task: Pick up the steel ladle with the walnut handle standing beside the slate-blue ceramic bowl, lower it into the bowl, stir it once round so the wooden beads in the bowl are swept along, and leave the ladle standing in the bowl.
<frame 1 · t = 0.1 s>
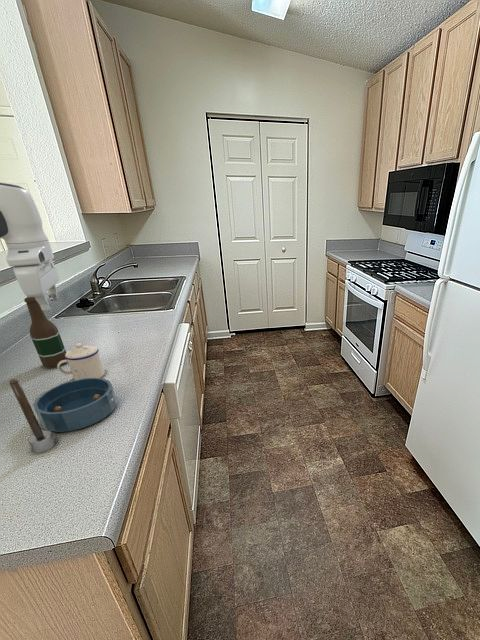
hand: (51, 304, 92), 26 cm above the counter, tool pointing down, fingers open, 8 cm apart
bead a: (97, 397, 94), point 2 cm above the counter, touching bowl
bowl: (81, 412, 90), on the counter
beer bottle: (56, 364, 117), on the counter
bead b: (57, 409, 89), point 2 cm above the counter, touching bowl
teacup with lid: (85, 378, 108), on the counter
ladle: (44, 446, 78), on the counter
bead c: (82, 417, 86), point 2 cm above the counter, touching bowl
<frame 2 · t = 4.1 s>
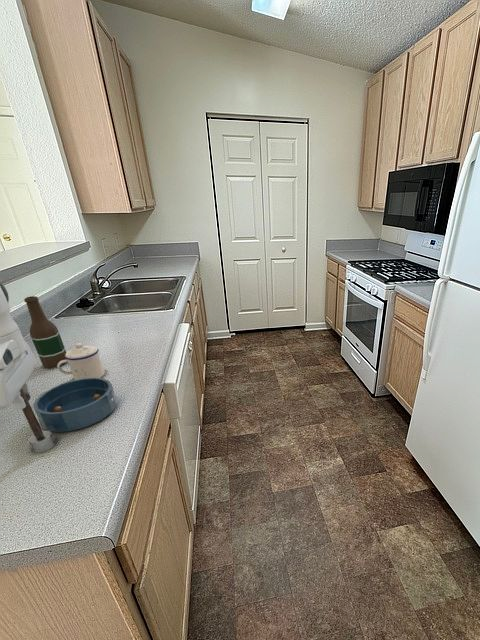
hand: (24, 403, 73), 12 cm above the counter, tool pointing down, fingers closed on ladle
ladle: (44, 446, 78), on the counter, touching gripper
everything else where it was.
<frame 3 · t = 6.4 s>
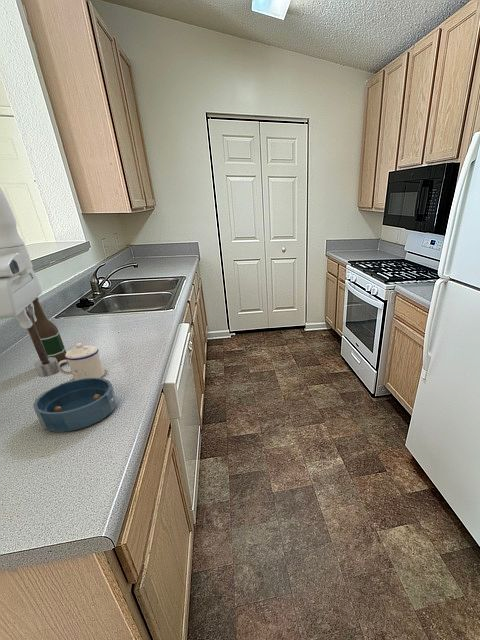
hand: (29, 325, 74), 27 cm above the counter, tool pointing down, fingers closed on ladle
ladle: (49, 372, 79), point 15 cm above the counter, touching gripper
everything else where it was.
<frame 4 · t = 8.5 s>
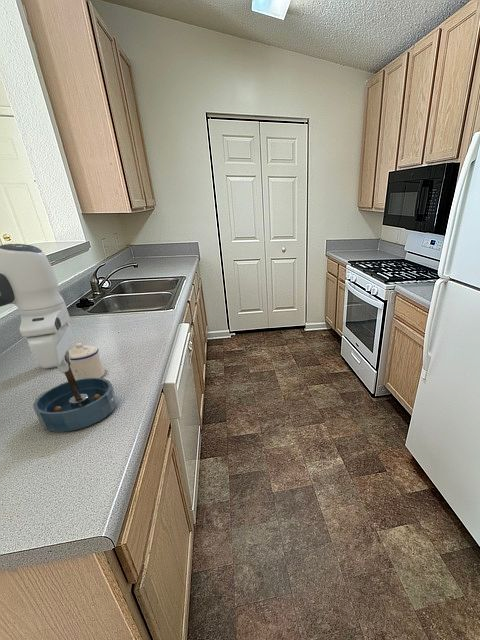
hand: (66, 368, 84), 14 cm above the counter, tool pointing down, fingers closed on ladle
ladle: (82, 407, 90), point 2 cm above the counter, touching gripper
everything else where it was.
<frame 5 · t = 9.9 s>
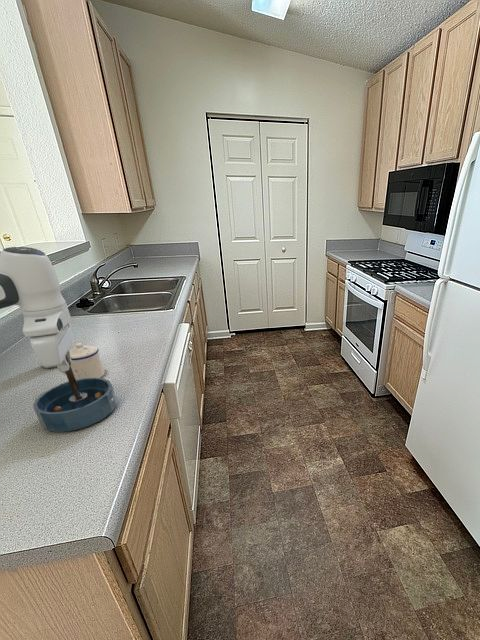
hand: (67, 367, 87), 13 cm above the counter, tool pointing down, fingers closed on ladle
bead a: (98, 395, 95), point 2 cm above the counter, tilted 44°, touching bowl
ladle: (81, 405, 92), point 1 cm above the counter, touching gripper
everything else where it was.
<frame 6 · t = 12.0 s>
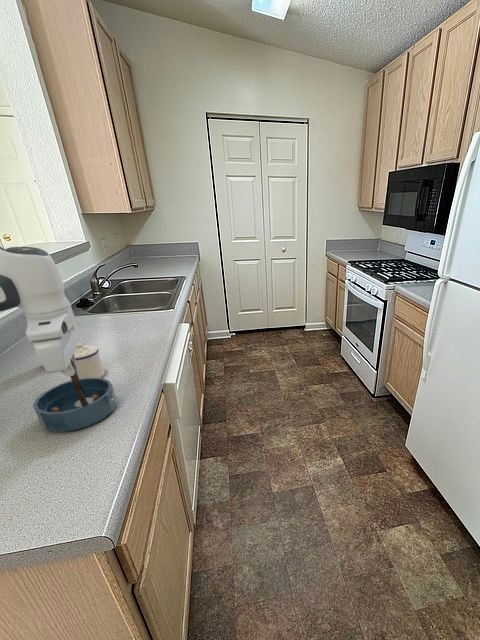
hand: (72, 372, 83), 13 cm above the counter, tool pointing down, fingers closed on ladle
bead a: (95, 397, 94), point 2 cm above the counter, tilted 27°, touching bowl
bead b: (54, 410, 88), point 2 cm above the counter, tilted 42°, touching bowl
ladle: (87, 411, 89), point 1 cm above the counter, touching gripper
bead c: (84, 417, 85), point 2 cm above the counter, tilted 35°, touching bowl
everything else where it was.
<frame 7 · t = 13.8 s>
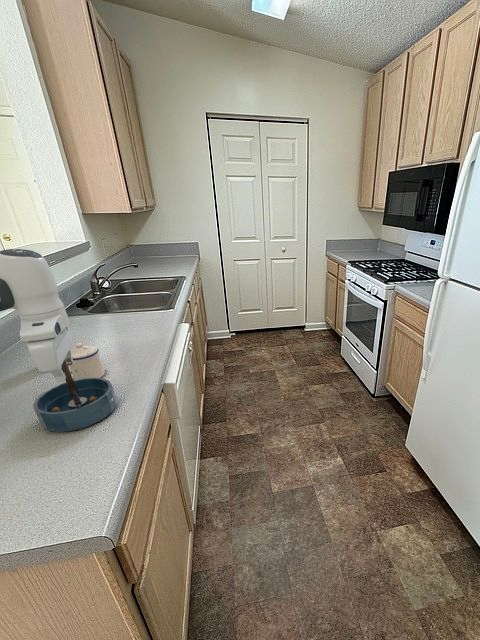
hand: (65, 372, 85), 13 cm above the counter, tool pointing down, fingers open, 8 cm apart
bead a: (93, 399, 93), point 2 cm above the counter, tilted 75°, touching bowl
bead b: (55, 410, 88), point 2 cm above the counter, tilted 33°, touching bowl
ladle: (81, 410, 90), point 1 cm above the counter, touching bowl
bead c: (83, 415, 86), point 2 cm above the counter, tilted 35°, touching bowl
everything else where it was.
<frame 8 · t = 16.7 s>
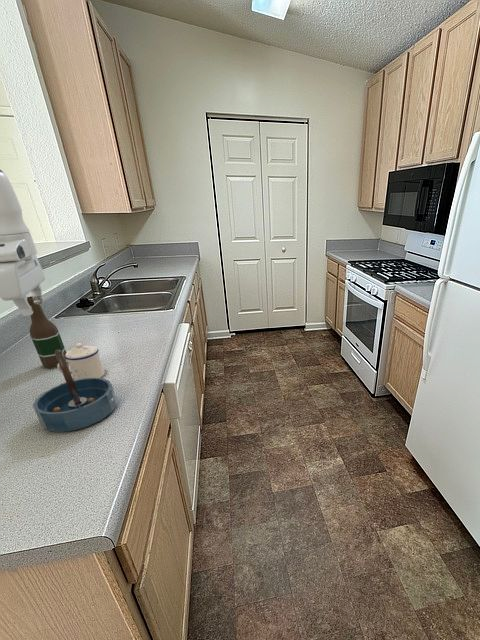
hand: (34, 309, 78), 29 cm above the counter, tool pointing down, fingers open, 8 cm apart
bead a: (91, 401, 92), point 2 cm above the counter, tilted 117°, touching bowl
bead b: (56, 410, 88), point 2 cm above the counter, tilted 24°, touching bowl
bead c: (82, 413, 87), point 2 cm above the counter, tilted 126°, touching bowl
everything else where it was.
at the end: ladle inside the target area in the bowl (0.1 cm from its centre), point 0.6 cm above the bowl's base; bead a moved 2.1 cm from its start; bead a inside the target area in the bowl (3.4 cm from its centre), point 1.6 cm above the bowl's base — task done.
